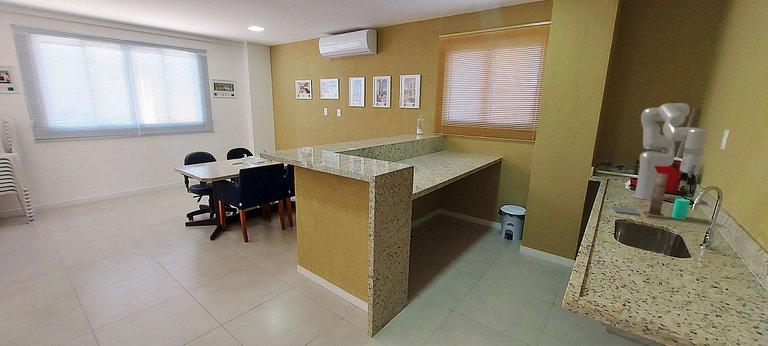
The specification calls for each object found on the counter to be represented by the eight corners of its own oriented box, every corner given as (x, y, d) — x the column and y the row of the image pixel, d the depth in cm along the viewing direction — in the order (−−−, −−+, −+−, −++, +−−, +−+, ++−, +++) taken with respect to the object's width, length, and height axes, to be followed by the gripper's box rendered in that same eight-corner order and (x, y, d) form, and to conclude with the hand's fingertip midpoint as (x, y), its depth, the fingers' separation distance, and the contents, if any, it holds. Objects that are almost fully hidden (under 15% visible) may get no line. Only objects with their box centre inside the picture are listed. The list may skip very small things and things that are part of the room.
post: (643, 212, 186) (650, 172, 180) (660, 214, 182) (668, 173, 177) (647, 217, 179) (655, 175, 173) (665, 219, 175) (674, 176, 170)
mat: (612, 207, 196) (612, 205, 195) (633, 209, 191) (634, 208, 191) (615, 212, 186) (616, 211, 186) (638, 215, 181) (639, 214, 181)
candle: (689, 219, 175) (693, 198, 172) (678, 219, 175) (682, 198, 172) (679, 215, 181) (683, 195, 178) (668, 215, 181) (673, 195, 178)
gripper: (677, 149, 179) (672, 178, 182) (690, 153, 163) (684, 185, 167) (695, 150, 175) (688, 179, 179) (710, 154, 160) (703, 187, 164)
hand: (686, 182), depth 173 cm, fingers open, 9 cm apart
